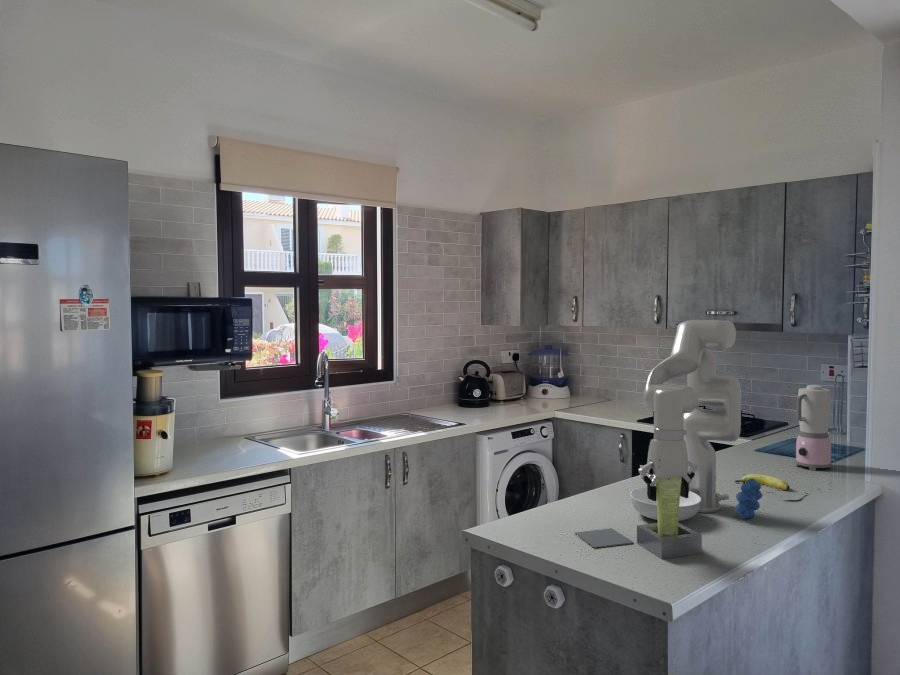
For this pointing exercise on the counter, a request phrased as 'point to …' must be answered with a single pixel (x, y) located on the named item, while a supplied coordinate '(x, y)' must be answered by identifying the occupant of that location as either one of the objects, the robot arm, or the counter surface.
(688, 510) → the serving bowl
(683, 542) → the housing
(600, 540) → the mat
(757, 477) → the banana
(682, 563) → the counter surface
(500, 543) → the counter surface
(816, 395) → the blender
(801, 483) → the counter surface
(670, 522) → the tube
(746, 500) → the grapes
